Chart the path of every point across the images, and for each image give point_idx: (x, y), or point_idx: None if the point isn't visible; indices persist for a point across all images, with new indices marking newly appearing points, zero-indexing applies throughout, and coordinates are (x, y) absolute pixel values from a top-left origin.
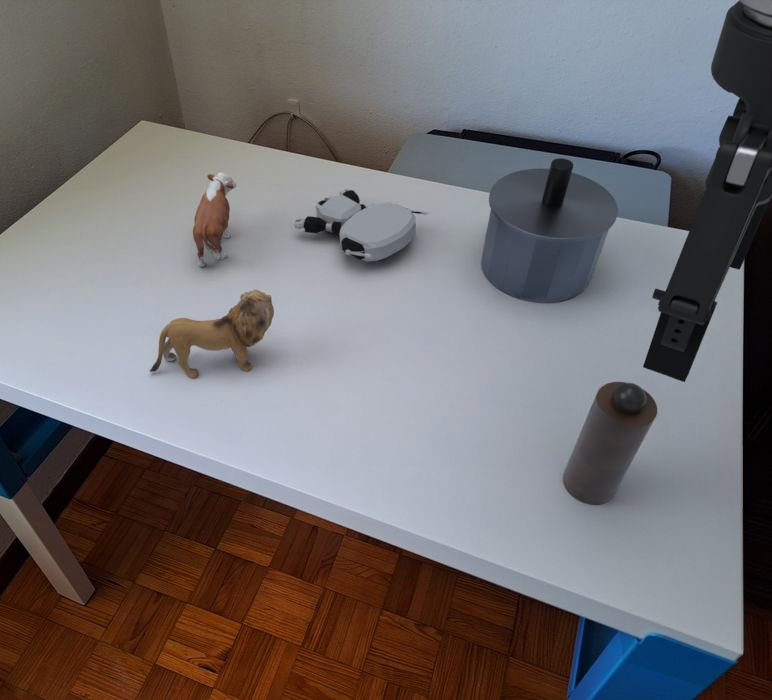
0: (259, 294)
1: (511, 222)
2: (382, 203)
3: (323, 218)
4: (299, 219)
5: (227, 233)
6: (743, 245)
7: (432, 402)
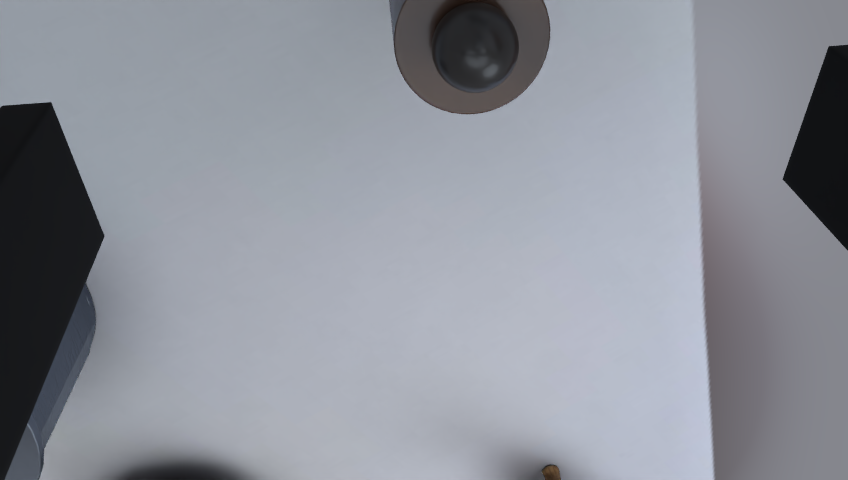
0: None
1: (30, 461)
2: None
3: None
4: None
5: None
6: (11, 200)
7: (442, 263)
